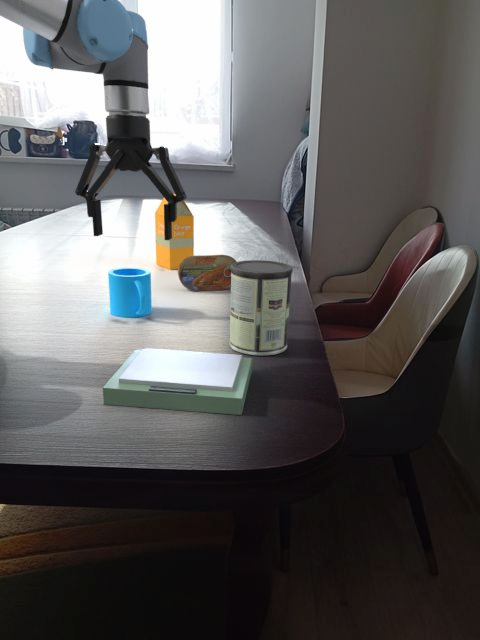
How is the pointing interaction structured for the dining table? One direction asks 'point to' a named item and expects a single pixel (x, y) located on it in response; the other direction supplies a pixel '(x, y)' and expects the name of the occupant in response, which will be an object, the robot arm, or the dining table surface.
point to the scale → (181, 381)
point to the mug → (130, 292)
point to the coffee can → (259, 307)
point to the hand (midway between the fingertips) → (133, 237)
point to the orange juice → (174, 237)
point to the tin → (206, 272)
